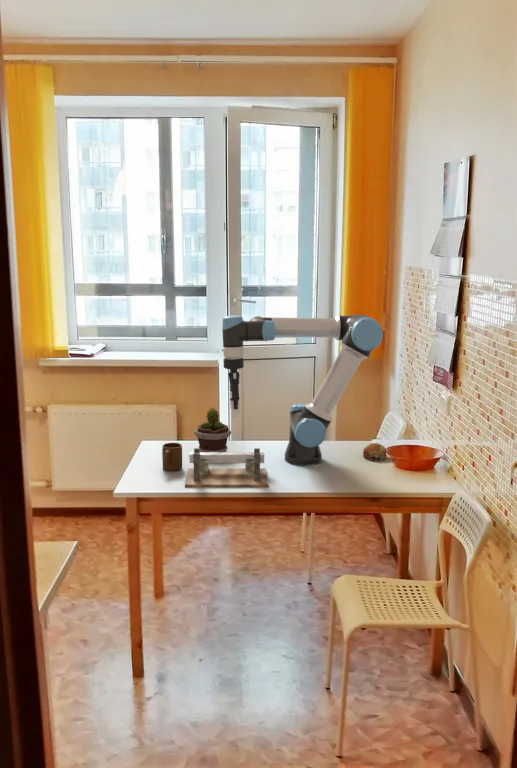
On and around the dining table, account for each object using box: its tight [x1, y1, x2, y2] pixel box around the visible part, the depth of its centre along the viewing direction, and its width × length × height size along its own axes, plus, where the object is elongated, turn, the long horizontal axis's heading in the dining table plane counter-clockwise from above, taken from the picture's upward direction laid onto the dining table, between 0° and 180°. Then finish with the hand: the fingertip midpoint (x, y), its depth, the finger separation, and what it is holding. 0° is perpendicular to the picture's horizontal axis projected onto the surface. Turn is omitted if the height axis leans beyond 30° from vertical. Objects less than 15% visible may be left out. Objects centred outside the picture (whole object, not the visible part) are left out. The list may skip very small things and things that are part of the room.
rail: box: [189, 451, 265, 464], centre depth 250 cm, size 28×3×3 cm, turn 92°
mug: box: [161, 442, 183, 472], centre depth 254 cm, size 12×8×9 cm, turn 170°
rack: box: [184, 447, 270, 488], centre depth 245 cm, size 30×18×12 cm, turn 92°
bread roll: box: [362, 442, 388, 462], centre depth 274 cm, size 10×10×8 cm
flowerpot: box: [194, 406, 232, 452], centre depth 274 cm, size 14×15×20 cm
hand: (234, 412), depth 251 cm, fingers open, 13 cm apart
